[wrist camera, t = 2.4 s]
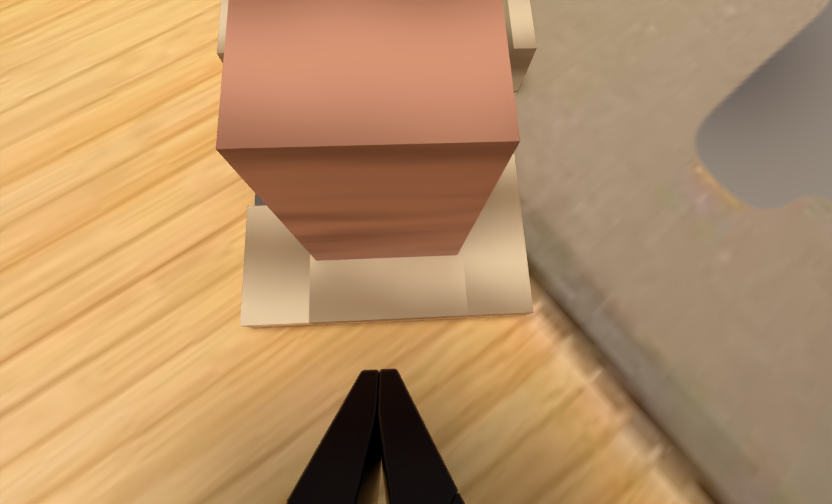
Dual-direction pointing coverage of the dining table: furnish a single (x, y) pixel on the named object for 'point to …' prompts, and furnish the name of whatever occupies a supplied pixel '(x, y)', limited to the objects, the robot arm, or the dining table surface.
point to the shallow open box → (395, 277)
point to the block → (369, 119)
